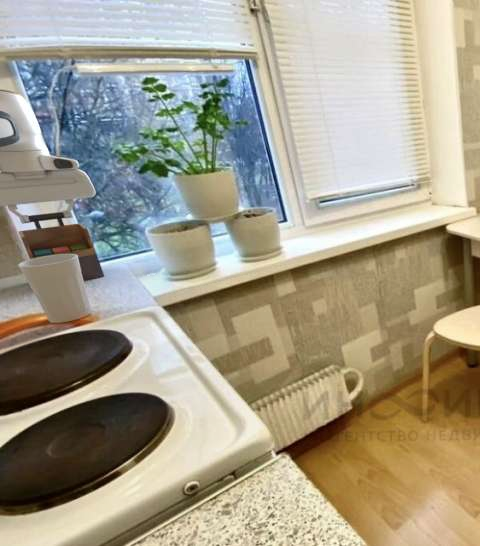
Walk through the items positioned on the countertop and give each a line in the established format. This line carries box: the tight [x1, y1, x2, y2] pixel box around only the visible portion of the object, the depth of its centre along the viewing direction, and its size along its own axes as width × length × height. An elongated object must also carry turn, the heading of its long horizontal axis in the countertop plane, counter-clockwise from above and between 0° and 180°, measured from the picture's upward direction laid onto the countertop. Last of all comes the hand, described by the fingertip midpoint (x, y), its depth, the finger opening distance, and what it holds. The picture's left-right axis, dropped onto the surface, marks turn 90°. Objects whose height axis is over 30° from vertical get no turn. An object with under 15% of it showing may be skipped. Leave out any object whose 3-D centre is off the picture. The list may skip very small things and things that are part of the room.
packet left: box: [33, 249, 53, 257], centre depth 102 cm, size 3×5×1 cm, turn 51°
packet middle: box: [51, 246, 71, 254], centre depth 104 cm, size 3×5×1 cm, turn 51°
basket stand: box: [78, 253, 105, 282], centre depth 105 cm, size 11×10×6 cm
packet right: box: [69, 243, 88, 251], centre depth 106 cm, size 3×5×1 cm, turn 51°
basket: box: [17, 211, 97, 260], centre depth 103 cm, size 11×10×10 cm
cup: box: [17, 254, 93, 324], centre depth 83 cm, size 8×8×12 cm
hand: (48, 220), depth 104 cm, fingers closed on basket, 6 cm apart
